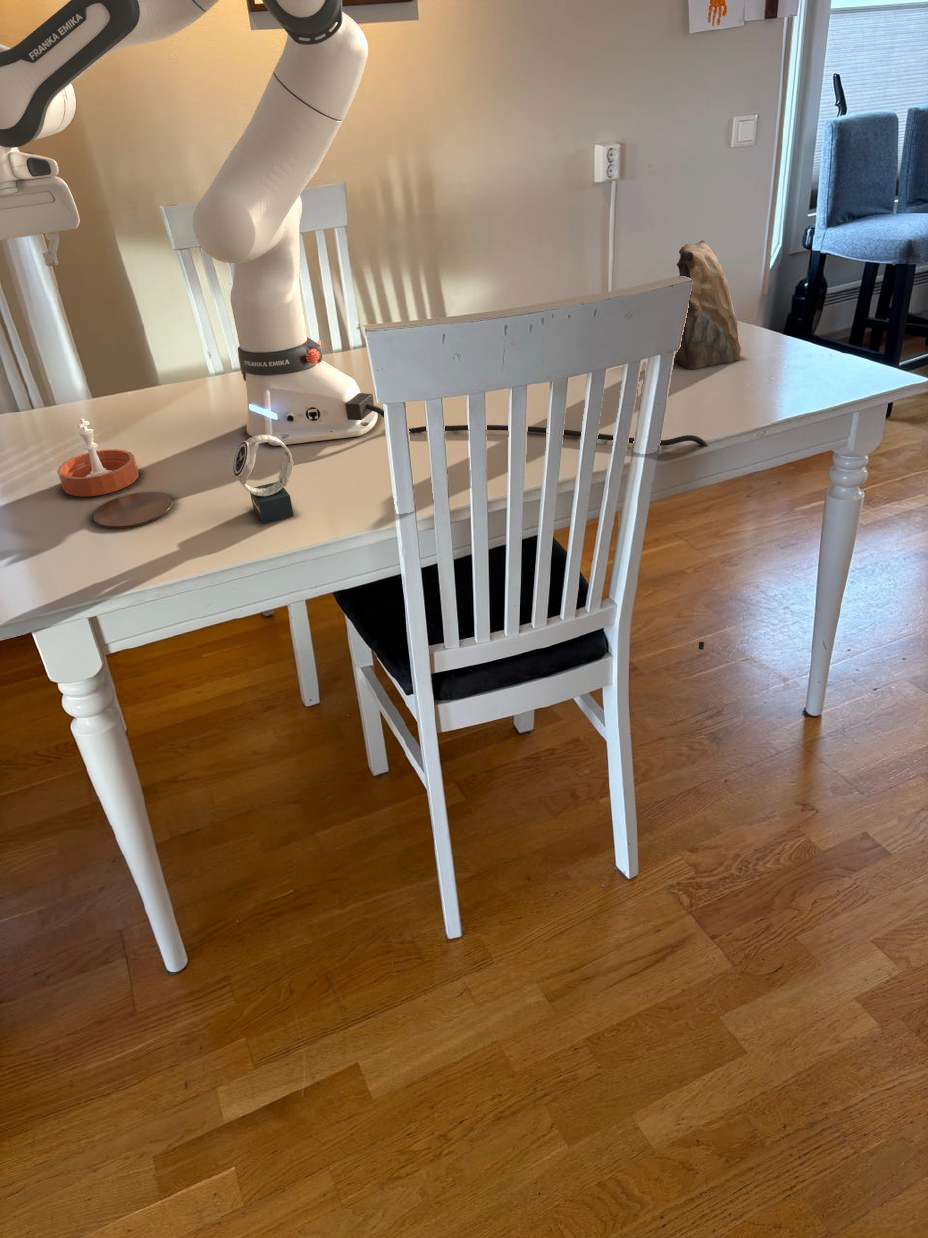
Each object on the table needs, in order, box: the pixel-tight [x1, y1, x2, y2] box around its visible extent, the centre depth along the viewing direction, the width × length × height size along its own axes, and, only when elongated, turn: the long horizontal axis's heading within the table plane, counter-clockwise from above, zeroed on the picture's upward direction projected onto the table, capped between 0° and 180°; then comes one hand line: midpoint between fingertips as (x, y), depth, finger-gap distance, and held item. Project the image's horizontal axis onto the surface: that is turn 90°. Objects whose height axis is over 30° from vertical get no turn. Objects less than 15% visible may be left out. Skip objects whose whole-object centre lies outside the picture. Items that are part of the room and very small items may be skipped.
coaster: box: [92, 491, 174, 530], centre depth 130 cm, size 11×11×1 cm
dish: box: [56, 448, 140, 497], centre depth 138 cm, size 11×11×3 cm
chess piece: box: [77, 417, 112, 477], centre depth 136 cm, size 5×5×10 cm
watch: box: [232, 435, 295, 524], centre depth 123 cm, size 6×8×11 cm
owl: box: [674, 239, 743, 370], centre depth 166 cm, size 13×13×20 cm
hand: (20, 270), depth 133 cm, fingers open, 8 cm apart
